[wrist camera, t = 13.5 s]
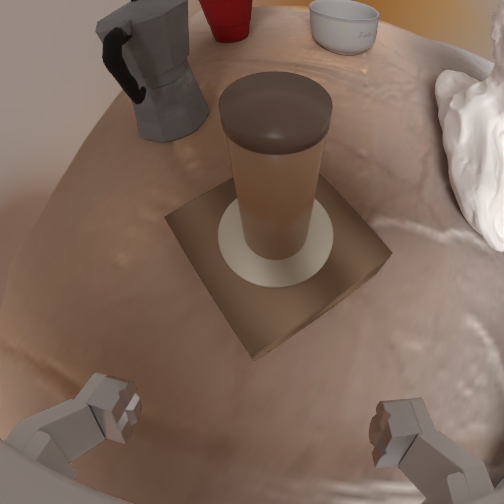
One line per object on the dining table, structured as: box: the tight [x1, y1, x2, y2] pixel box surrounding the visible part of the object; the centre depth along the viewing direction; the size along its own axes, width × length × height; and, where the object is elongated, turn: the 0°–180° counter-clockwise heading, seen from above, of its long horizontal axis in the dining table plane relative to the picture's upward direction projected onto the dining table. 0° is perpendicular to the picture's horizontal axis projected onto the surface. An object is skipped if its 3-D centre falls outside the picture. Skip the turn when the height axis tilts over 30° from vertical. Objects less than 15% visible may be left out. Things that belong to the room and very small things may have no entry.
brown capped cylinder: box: [219, 72, 332, 260], centre depth 16 cm, size 5×5×11 cm
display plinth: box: [165, 174, 392, 361], centre depth 23 cm, size 12×12×4 cm
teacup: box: [309, 0, 380, 55], centre depth 37 cm, size 14×11×8 cm
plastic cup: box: [199, 0, 252, 43], centre depth 38 cm, size 11×11×12 cm
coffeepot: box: [96, 0, 210, 142], centre depth 25 cm, size 15×9×18 cm, turn 179°
